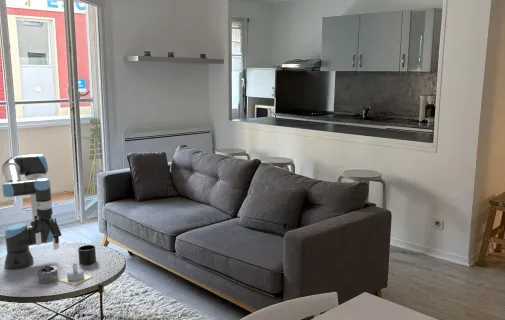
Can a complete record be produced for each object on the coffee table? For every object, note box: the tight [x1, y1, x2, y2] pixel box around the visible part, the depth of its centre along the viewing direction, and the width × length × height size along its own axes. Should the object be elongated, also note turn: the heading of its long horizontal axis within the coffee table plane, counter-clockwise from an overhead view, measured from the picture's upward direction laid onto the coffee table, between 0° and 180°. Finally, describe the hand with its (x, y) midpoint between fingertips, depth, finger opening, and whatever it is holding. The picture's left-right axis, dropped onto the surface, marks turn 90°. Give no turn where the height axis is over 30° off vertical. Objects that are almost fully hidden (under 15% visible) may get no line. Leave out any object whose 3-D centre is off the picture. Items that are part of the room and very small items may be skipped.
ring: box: [37, 265, 59, 285], centre depth 259 cm, size 9×9×6 cm
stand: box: [44, 264, 51, 272], centre depth 259 cm, size 5×5×8 cm
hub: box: [58, 262, 93, 286], centre depth 260 cm, size 12×12×9 cm
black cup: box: [77, 244, 97, 266], centre depth 282 cm, size 9×12×9 cm
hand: (47, 246), depth 257 cm, fingers open, 13 cm apart
